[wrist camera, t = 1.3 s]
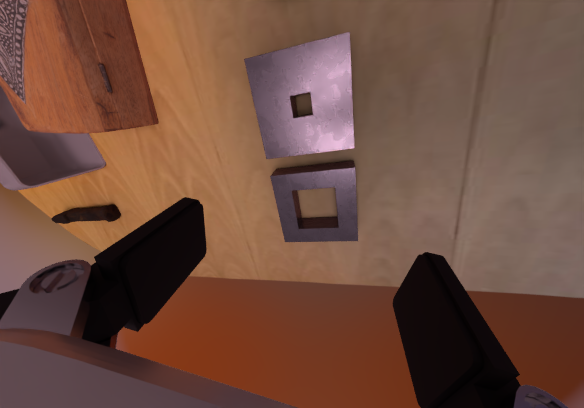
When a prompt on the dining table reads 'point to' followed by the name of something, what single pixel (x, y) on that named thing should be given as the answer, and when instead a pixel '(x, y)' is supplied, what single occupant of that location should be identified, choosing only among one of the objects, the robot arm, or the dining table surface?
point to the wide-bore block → (314, 178)
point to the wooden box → (73, 66)
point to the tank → (41, 153)
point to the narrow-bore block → (301, 80)
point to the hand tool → (88, 214)
